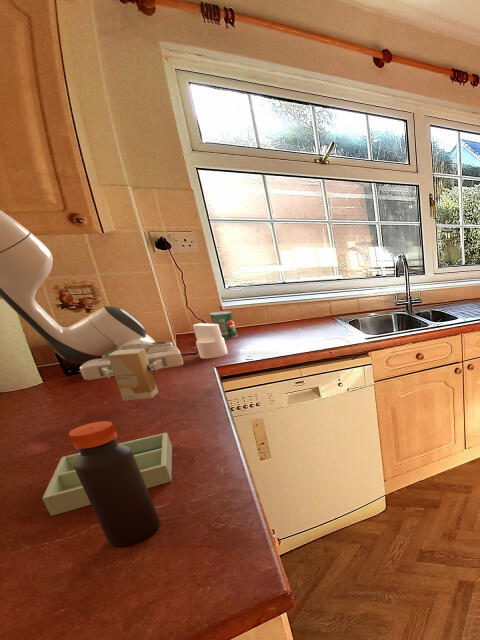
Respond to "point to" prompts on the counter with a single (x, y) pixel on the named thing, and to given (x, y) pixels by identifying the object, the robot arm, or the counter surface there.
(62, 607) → the counter surface
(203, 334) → the base with upright slab
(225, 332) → the canned tomato
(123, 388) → the cosmetic box
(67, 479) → the grid
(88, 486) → the bottle
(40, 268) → the robot arm
